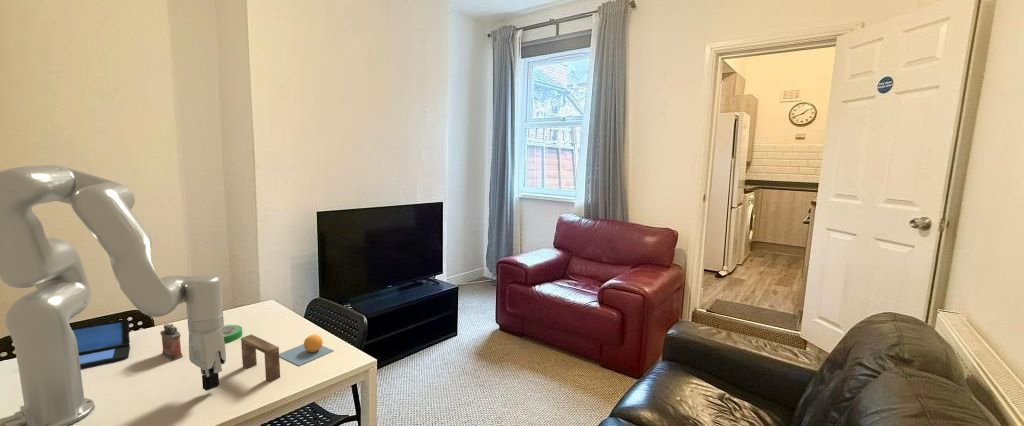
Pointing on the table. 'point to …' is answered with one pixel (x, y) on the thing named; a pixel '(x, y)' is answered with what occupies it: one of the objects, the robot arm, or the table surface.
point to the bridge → (270, 352)
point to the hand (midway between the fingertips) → (211, 387)
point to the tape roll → (232, 333)
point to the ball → (313, 343)
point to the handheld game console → (102, 342)
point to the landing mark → (303, 354)
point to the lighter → (171, 342)
